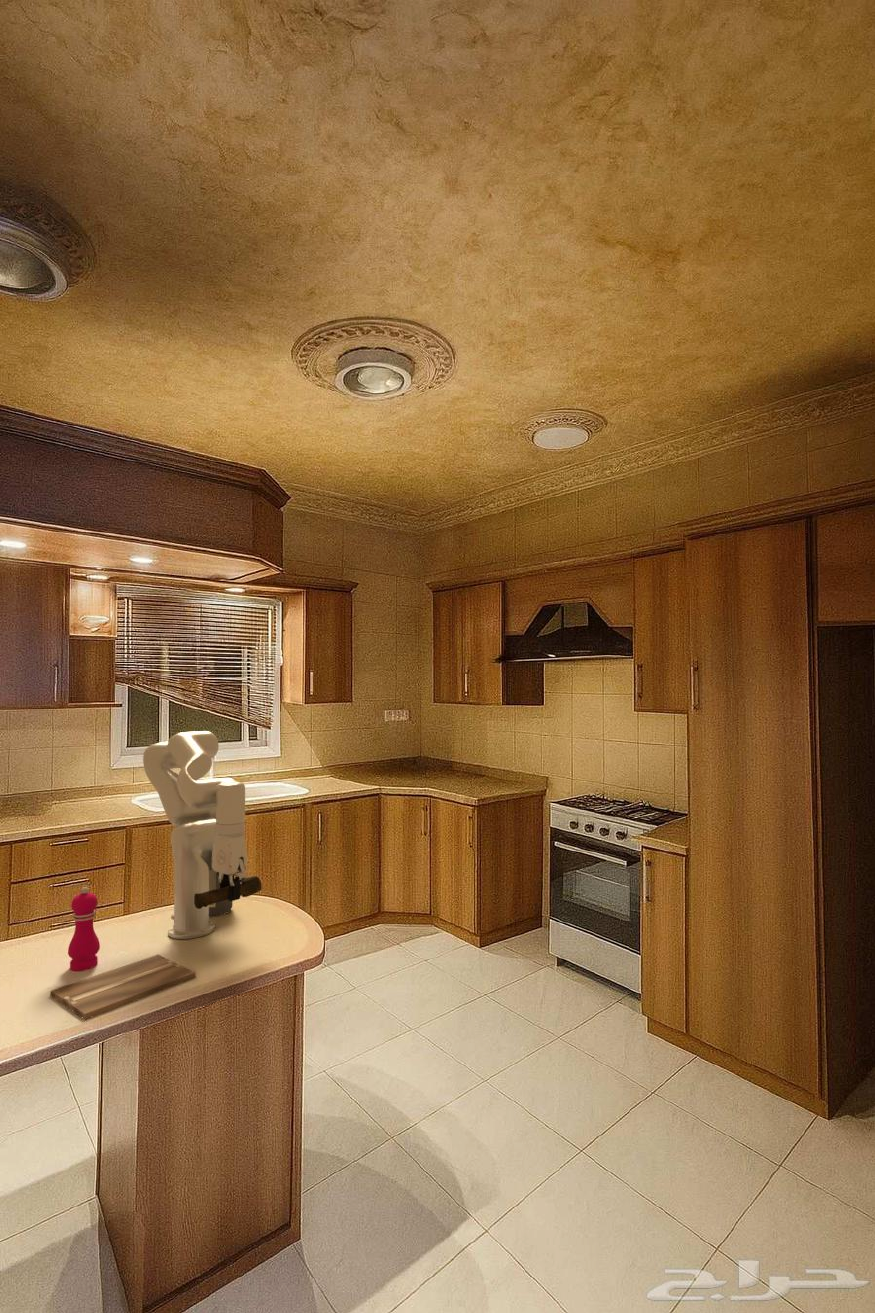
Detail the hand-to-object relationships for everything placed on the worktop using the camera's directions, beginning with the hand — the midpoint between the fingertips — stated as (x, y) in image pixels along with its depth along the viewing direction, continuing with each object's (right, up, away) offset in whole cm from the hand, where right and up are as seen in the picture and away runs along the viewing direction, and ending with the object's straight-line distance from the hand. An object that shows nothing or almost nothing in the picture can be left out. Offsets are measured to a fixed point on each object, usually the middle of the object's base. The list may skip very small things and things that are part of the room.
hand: (229, 897), depth 176 cm
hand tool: (0, -1, 0) cm, 1 cm away
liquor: (-15, -17, +34) cm, 41 cm away
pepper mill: (-35, -15, -7) cm, 39 cm away
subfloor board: (-19, -14, -18) cm, 30 cm away
